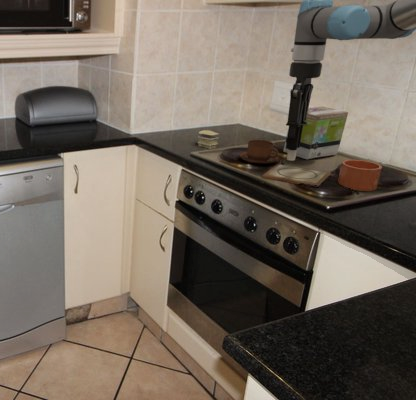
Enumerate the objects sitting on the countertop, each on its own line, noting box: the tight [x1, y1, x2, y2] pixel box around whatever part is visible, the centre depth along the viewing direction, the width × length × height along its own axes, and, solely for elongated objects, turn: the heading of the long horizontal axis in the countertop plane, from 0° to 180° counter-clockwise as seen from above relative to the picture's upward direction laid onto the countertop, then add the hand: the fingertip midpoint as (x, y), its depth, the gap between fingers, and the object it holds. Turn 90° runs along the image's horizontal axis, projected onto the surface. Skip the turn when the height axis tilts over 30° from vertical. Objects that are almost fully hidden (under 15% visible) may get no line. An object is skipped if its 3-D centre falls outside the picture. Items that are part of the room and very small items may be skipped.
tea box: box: [283, 106, 349, 160], centre depth 158 cm, size 15×10×15 cm, turn 117°
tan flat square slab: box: [261, 163, 332, 186], centre depth 138 cm, size 15×14×1 cm
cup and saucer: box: [238, 139, 280, 165], centre depth 152 cm, size 12×12×6 cm
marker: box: [286, 114, 302, 162], centre depth 134 cm, size 2×2×13 cm
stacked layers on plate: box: [197, 129, 220, 150], centre depth 169 cm, size 10×9×6 cm
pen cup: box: [337, 159, 383, 192], centre depth 130 cm, size 9×9×6 cm
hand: (292, 147), depth 135 cm, fingers closed on marker, 2 cm apart
